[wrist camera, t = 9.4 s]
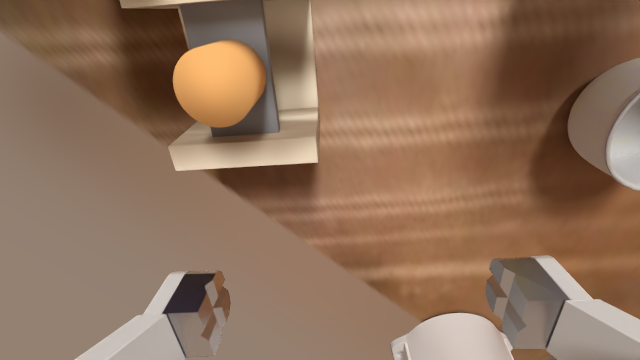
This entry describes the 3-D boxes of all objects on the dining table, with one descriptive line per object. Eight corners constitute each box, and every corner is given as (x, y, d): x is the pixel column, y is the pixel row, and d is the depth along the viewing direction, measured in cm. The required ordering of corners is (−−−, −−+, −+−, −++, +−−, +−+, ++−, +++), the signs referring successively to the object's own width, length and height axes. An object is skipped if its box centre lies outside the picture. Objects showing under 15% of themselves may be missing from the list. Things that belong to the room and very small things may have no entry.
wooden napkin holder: (320, 120, 32) (318, 162, 23) (216, 127, 33) (175, 170, 24) (308, -30, 26) (300, -50, 17) (180, -18, 26) (108, -32, 18)
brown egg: (260, 36, 21) (244, 42, 17) (271, 105, 23) (259, 125, 19) (193, 42, 21) (162, 49, 17) (210, 109, 23) (185, 129, 19)
